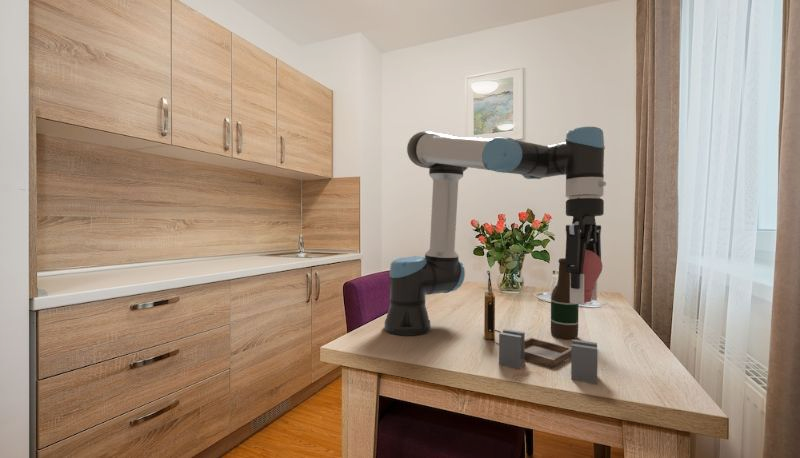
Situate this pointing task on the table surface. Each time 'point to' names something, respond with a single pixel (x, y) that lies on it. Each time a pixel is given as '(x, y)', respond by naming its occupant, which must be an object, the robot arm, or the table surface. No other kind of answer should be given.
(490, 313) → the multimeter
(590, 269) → the light bulb
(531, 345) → the shallow rectangular tray
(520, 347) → the grey block
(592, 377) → the grey flat block
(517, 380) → the table surface
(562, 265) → the beer bottle
